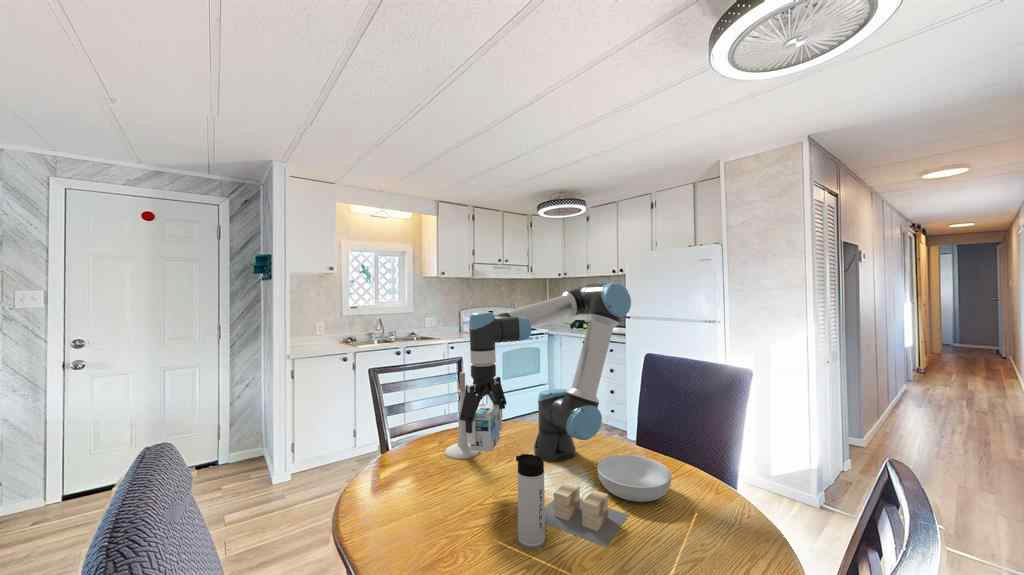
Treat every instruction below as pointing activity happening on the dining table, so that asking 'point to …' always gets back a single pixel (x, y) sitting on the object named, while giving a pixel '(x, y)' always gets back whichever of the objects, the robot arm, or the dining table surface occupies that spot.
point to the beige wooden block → (566, 501)
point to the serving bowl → (634, 477)
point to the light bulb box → (486, 427)
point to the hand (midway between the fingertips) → (485, 436)
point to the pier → (595, 510)
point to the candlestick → (461, 432)
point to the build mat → (577, 529)
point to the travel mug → (531, 501)
